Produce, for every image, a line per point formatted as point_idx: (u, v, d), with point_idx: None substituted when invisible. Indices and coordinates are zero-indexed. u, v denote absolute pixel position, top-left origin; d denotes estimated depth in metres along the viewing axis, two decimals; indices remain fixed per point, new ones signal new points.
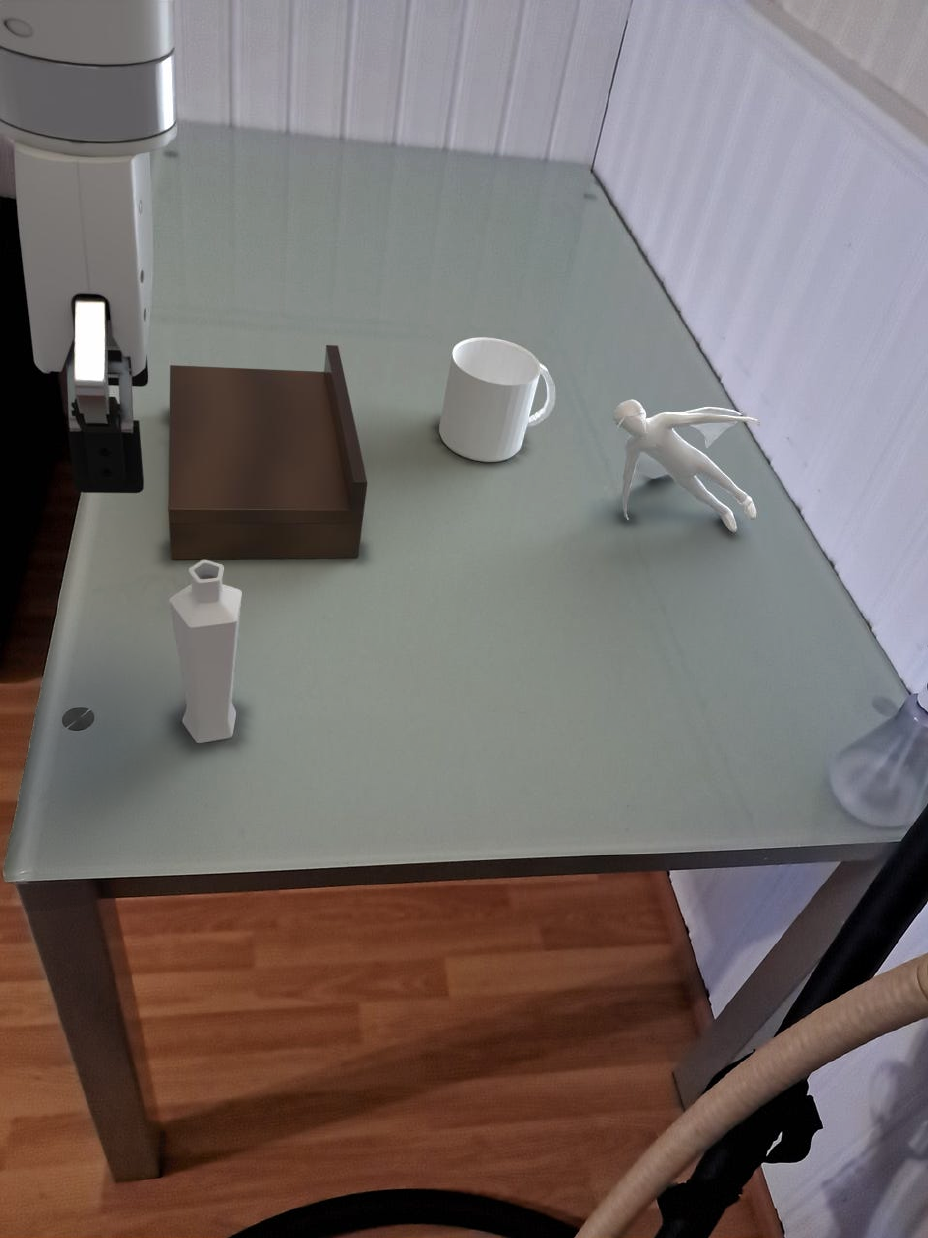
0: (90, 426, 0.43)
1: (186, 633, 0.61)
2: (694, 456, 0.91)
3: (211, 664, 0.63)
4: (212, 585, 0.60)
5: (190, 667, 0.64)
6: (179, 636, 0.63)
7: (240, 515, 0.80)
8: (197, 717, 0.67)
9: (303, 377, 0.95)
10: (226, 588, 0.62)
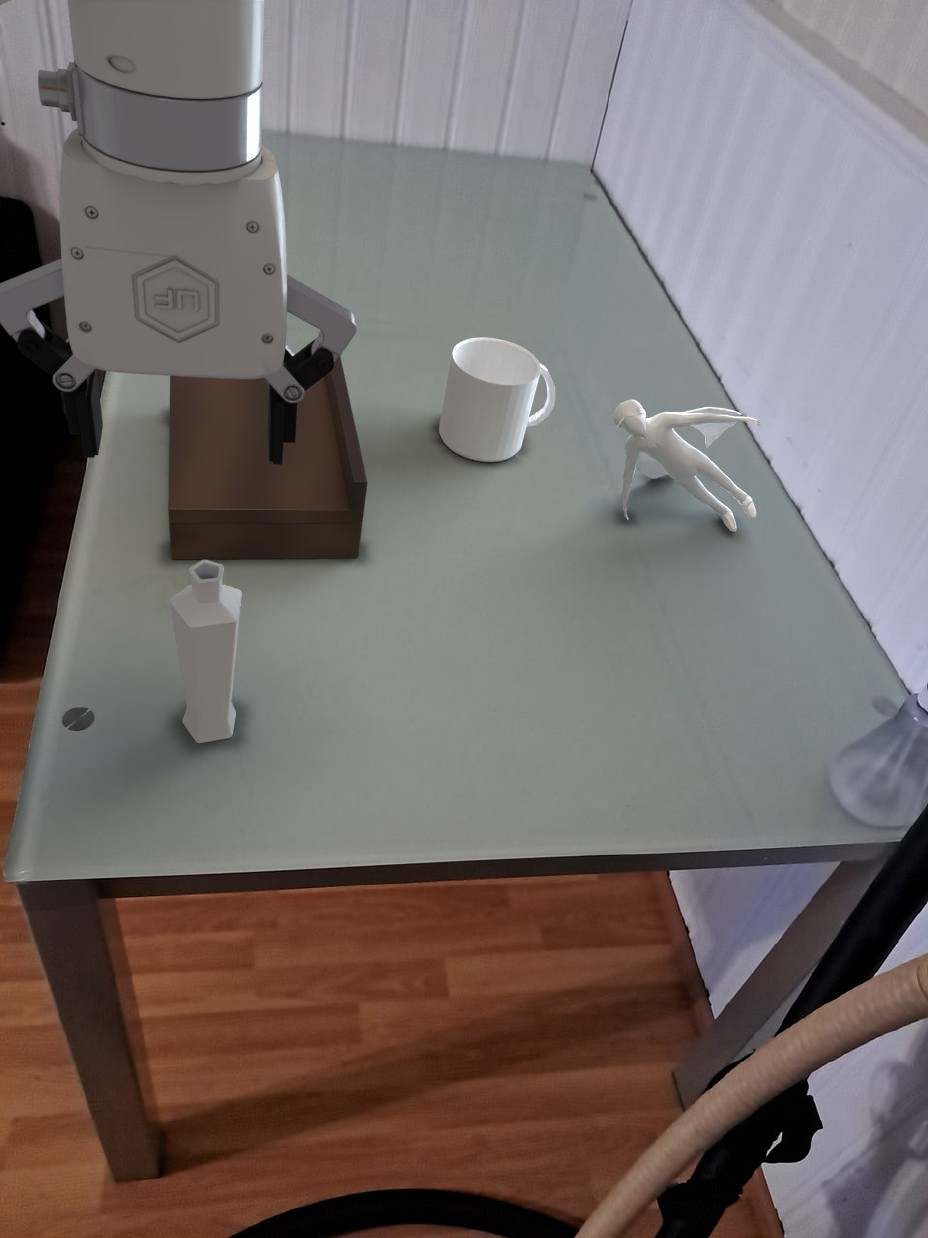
0: None
1: (186, 633, 0.61)
2: (694, 456, 0.91)
3: (211, 664, 0.63)
4: (212, 585, 0.60)
5: (190, 667, 0.64)
6: (179, 636, 0.63)
7: (240, 515, 0.80)
8: (197, 717, 0.67)
9: None
10: (226, 588, 0.62)
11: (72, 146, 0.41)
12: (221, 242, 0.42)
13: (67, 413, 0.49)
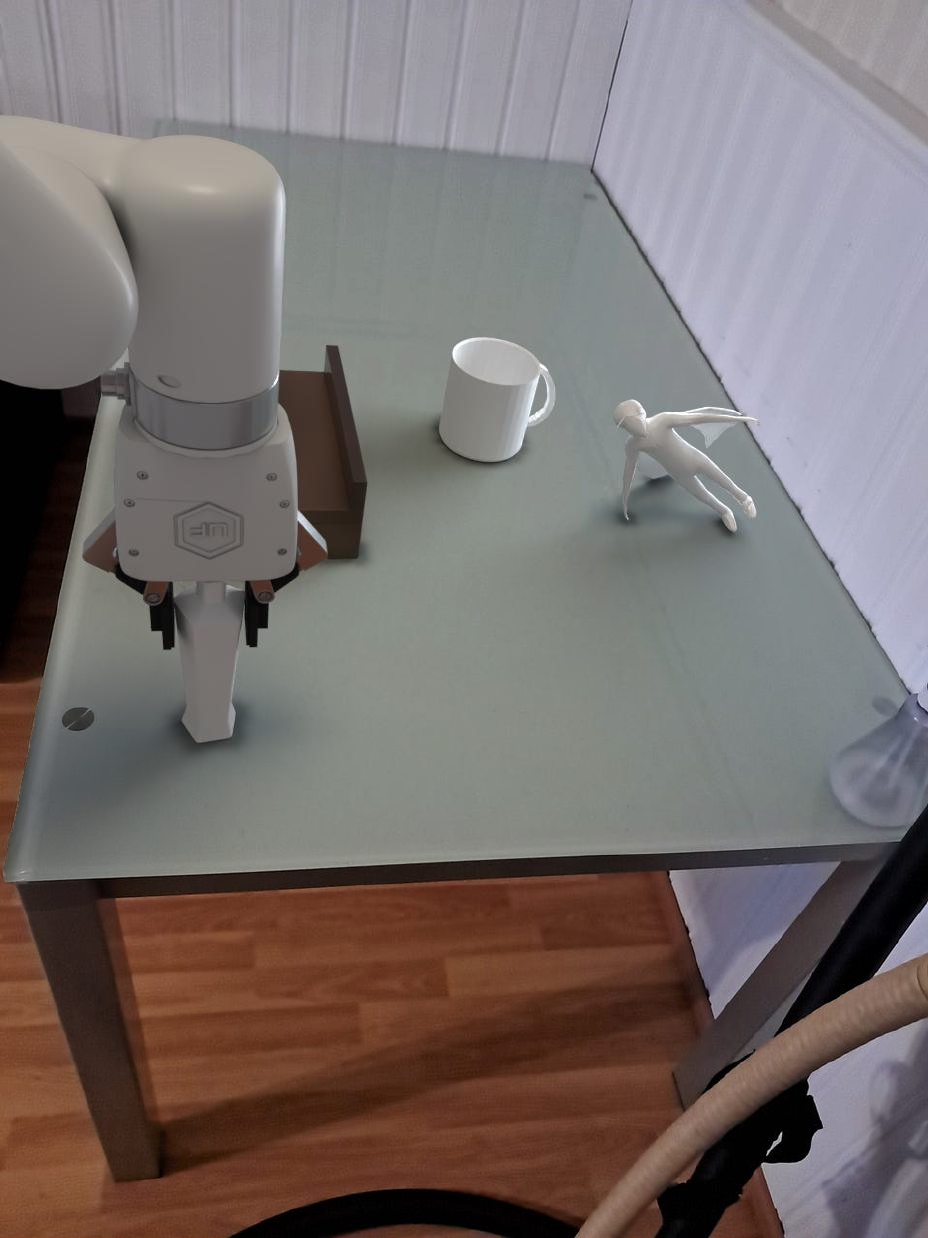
0: None
1: (190, 633, 0.61)
2: (694, 456, 0.91)
3: (213, 664, 0.63)
4: (217, 585, 0.60)
5: (192, 667, 0.64)
6: (182, 636, 0.63)
7: None
8: (197, 716, 0.67)
9: (303, 377, 0.95)
10: (230, 588, 0.62)
11: (126, 424, 0.50)
12: (246, 489, 0.52)
13: (151, 618, 0.60)
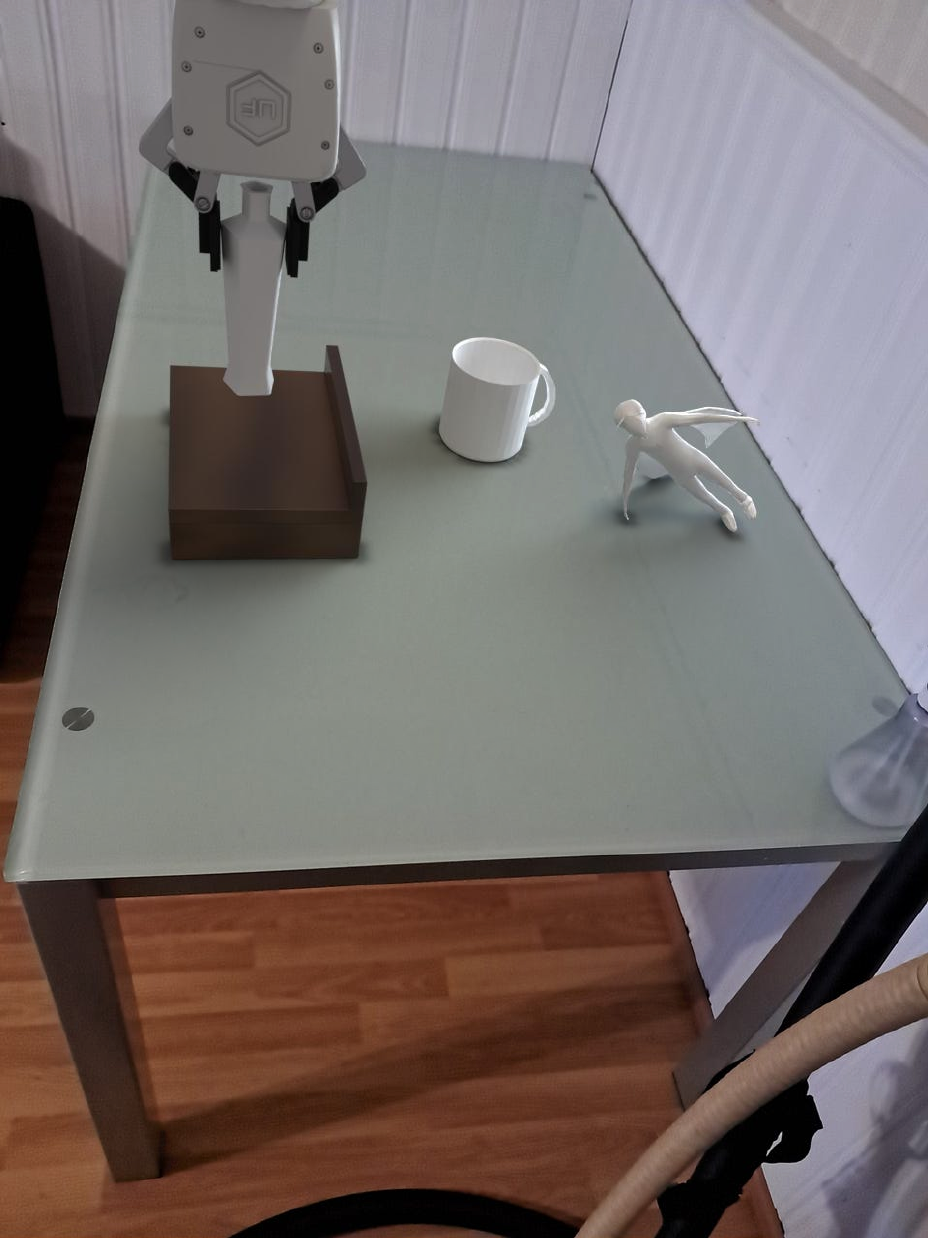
0: None
1: (235, 252, 0.65)
2: (694, 456, 0.91)
3: (256, 293, 0.67)
4: (262, 198, 0.63)
5: (236, 298, 0.67)
6: (227, 264, 0.67)
7: (240, 515, 0.80)
8: (238, 364, 0.71)
9: (303, 377, 0.95)
10: None
11: None
12: (294, 59, 0.56)
13: (199, 233, 0.64)
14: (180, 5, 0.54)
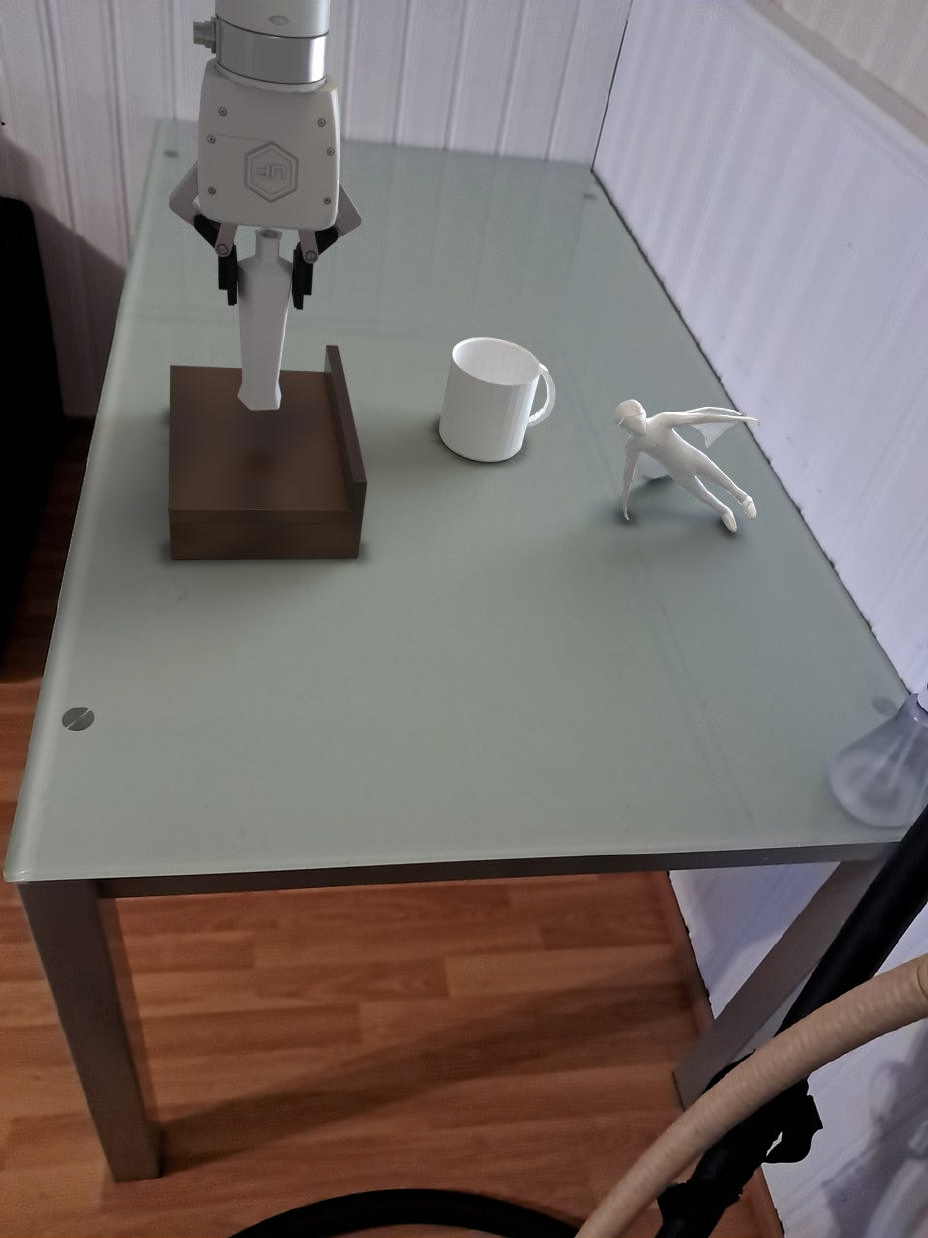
0: None
1: (250, 288, 0.76)
2: (694, 456, 0.91)
3: (267, 323, 0.78)
4: (273, 243, 0.74)
5: (250, 327, 0.78)
6: (242, 298, 0.77)
7: (240, 515, 0.80)
8: (251, 383, 0.82)
9: (303, 377, 0.95)
10: (281, 257, 0.77)
11: (210, 69, 0.65)
12: (301, 132, 0.67)
13: (219, 273, 0.75)
14: (206, 89, 0.65)
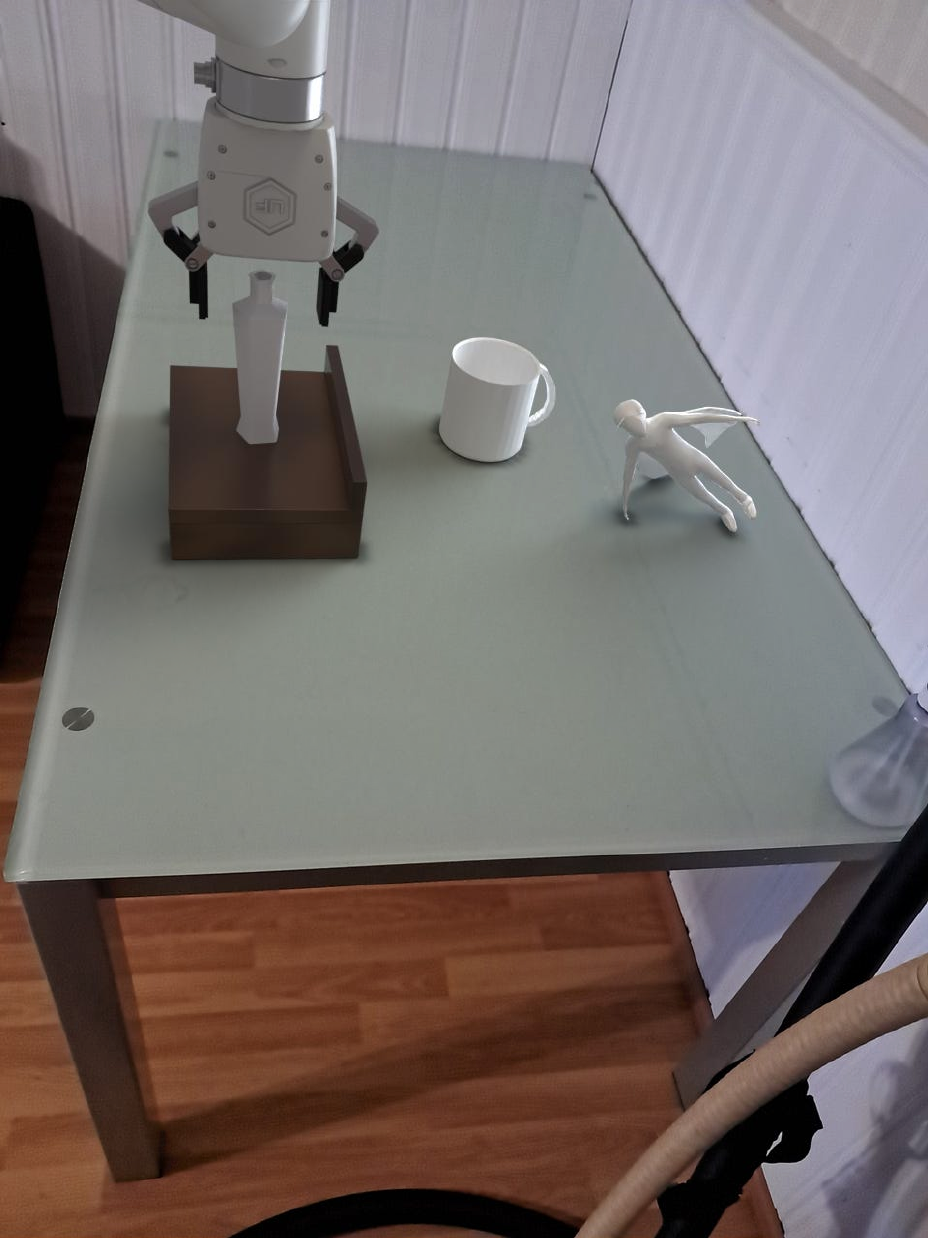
0: None
1: (245, 329, 0.78)
2: (694, 456, 0.92)
3: (263, 361, 0.80)
4: (267, 285, 0.77)
5: (247, 365, 0.81)
6: (239, 337, 0.80)
7: (240, 515, 0.80)
8: (249, 418, 0.84)
9: (303, 377, 0.95)
10: None
11: (210, 108, 0.67)
12: (299, 168, 0.69)
13: (190, 288, 0.75)
14: (207, 128, 0.67)
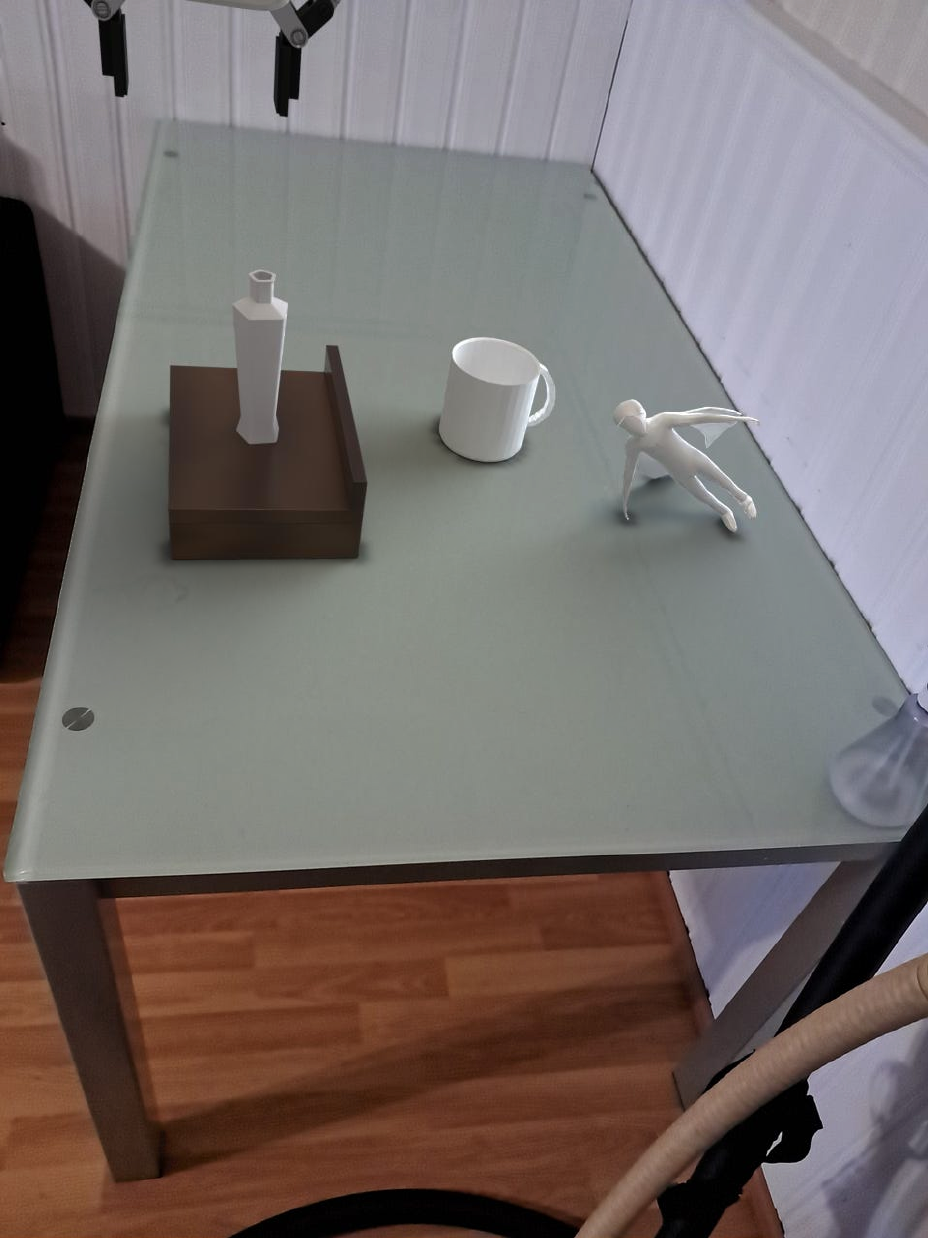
0: None
1: (245, 329, 0.78)
2: (694, 456, 0.92)
3: (263, 361, 0.80)
4: (267, 285, 0.77)
5: (247, 365, 0.81)
6: (239, 337, 0.80)
7: (240, 515, 0.80)
8: (249, 418, 0.84)
9: (303, 377, 0.95)
10: None
11: None
12: None
13: (101, 49, 0.57)
14: None
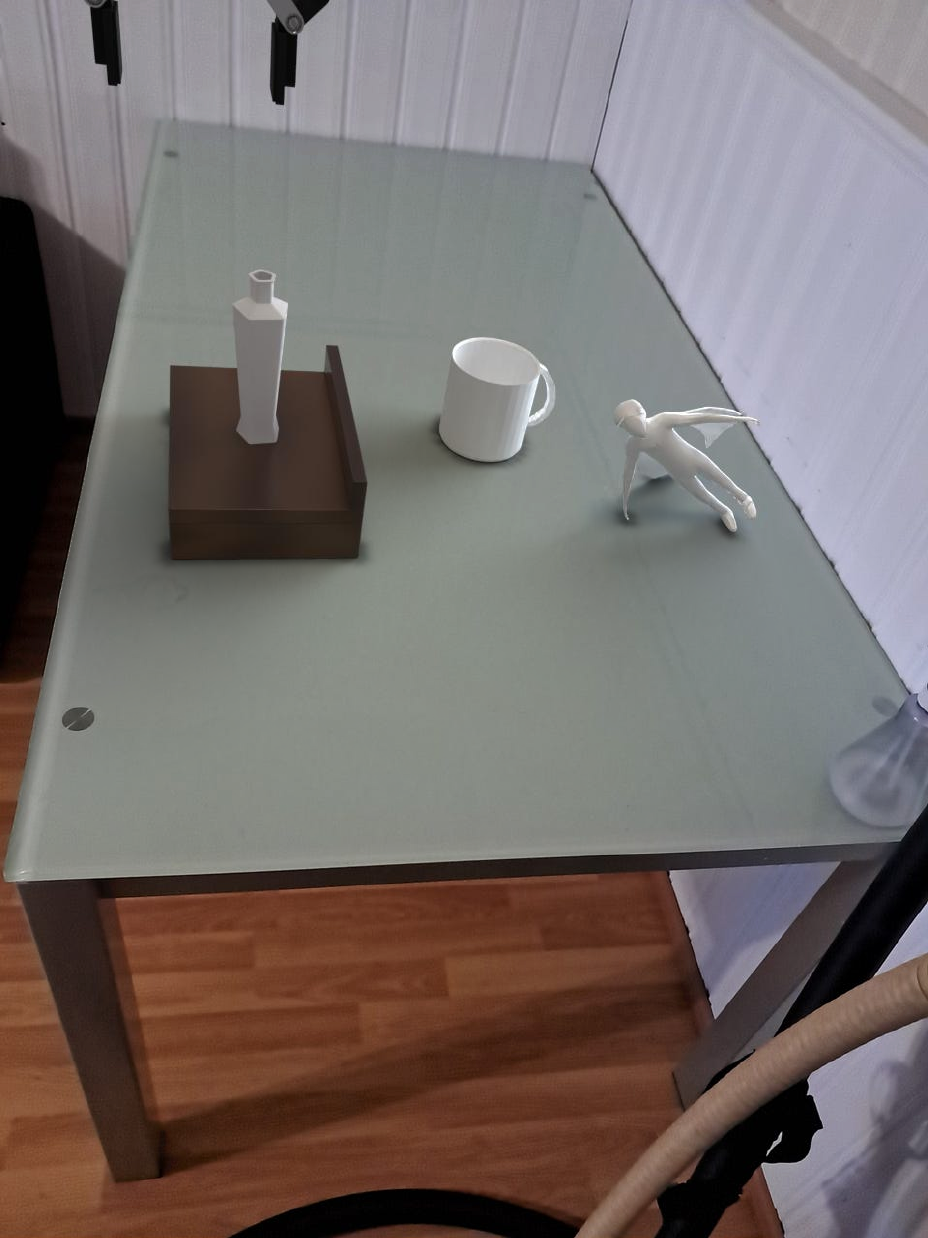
0: None
1: (245, 329, 0.78)
2: (694, 456, 0.91)
3: (263, 361, 0.80)
4: (267, 285, 0.77)
5: (247, 365, 0.81)
6: (239, 337, 0.80)
7: (240, 515, 0.80)
8: (249, 418, 0.84)
9: (303, 377, 0.95)
10: None
11: None
12: None
13: (93, 37, 0.56)
14: None
